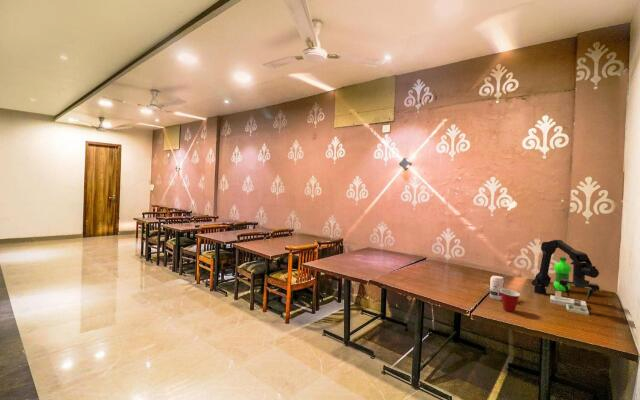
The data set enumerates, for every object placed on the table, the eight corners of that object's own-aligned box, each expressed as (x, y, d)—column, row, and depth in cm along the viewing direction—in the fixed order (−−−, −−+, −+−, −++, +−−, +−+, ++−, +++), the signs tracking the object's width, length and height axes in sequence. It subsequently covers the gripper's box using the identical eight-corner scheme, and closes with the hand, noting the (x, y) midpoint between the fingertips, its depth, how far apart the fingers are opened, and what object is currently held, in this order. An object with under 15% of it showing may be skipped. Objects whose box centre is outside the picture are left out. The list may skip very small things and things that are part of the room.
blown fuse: (573, 309, 191) (574, 298, 191) (579, 310, 189) (580, 299, 189) (573, 311, 189) (574, 299, 188) (580, 312, 187) (580, 301, 186)
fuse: (555, 302, 202) (555, 291, 202) (554, 300, 205) (555, 290, 204) (560, 303, 200) (561, 292, 200) (560, 301, 203) (561, 291, 203)
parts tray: (567, 312, 188) (567, 308, 188) (566, 307, 196) (566, 303, 196) (588, 316, 182) (588, 312, 182) (586, 311, 190) (586, 307, 190)
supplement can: (501, 297, 213) (502, 276, 212) (504, 301, 205) (505, 279, 205) (488, 295, 216) (489, 274, 215) (491, 299, 208) (491, 278, 207)
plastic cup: (518, 315, 181) (519, 296, 181) (497, 310, 188) (498, 291, 188) (520, 310, 190) (521, 291, 189) (501, 306, 197) (501, 287, 196)
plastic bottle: (568, 289, 232) (570, 257, 231) (571, 293, 223) (572, 259, 222) (552, 287, 237) (553, 255, 237) (553, 291, 229) (555, 258, 228)
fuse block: (550, 304, 201) (550, 299, 201) (550, 300, 209) (550, 294, 209) (586, 311, 190) (586, 305, 190) (584, 306, 198) (584, 300, 198)
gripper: (560, 273, 187) (559, 298, 187) (601, 278, 176) (600, 305, 176) (559, 269, 196) (558, 293, 196) (598, 274, 185) (597, 300, 185)
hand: (577, 298), depth 188 cm, fingers open, 9 cm apart
